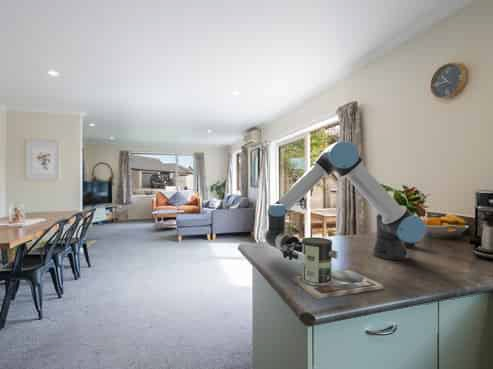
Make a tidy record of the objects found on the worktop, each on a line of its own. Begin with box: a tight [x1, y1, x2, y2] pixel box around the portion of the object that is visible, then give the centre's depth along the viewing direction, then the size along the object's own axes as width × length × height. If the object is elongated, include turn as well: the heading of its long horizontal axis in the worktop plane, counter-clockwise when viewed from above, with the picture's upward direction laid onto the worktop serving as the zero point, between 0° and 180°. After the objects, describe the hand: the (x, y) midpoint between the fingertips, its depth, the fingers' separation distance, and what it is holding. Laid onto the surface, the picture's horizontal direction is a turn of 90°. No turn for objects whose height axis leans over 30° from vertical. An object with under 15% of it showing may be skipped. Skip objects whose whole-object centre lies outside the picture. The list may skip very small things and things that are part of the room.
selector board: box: [291, 269, 384, 300], centre depth 92 cm, size 26×16×2 cm, turn 109°
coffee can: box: [301, 236, 333, 285], centre depth 92 cm, size 10×10×14 cm
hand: (321, 257), depth 89 cm, fingers open, 13 cm apart
